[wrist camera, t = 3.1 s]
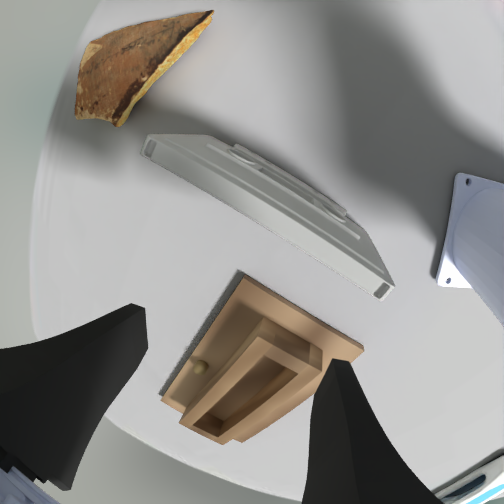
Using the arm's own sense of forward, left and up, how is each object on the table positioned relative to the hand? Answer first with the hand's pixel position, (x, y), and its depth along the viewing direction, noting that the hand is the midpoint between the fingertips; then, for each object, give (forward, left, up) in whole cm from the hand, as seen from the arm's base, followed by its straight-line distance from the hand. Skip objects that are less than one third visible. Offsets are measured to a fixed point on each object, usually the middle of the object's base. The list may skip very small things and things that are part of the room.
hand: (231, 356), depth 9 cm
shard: (+8, -17, -12) cm, 22 cm away
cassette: (-1, -4, -11) cm, 12 cm away
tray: (+2, +13, -10) cm, 17 cm away
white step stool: (-51, +52, -11) cm, 74 cm away
